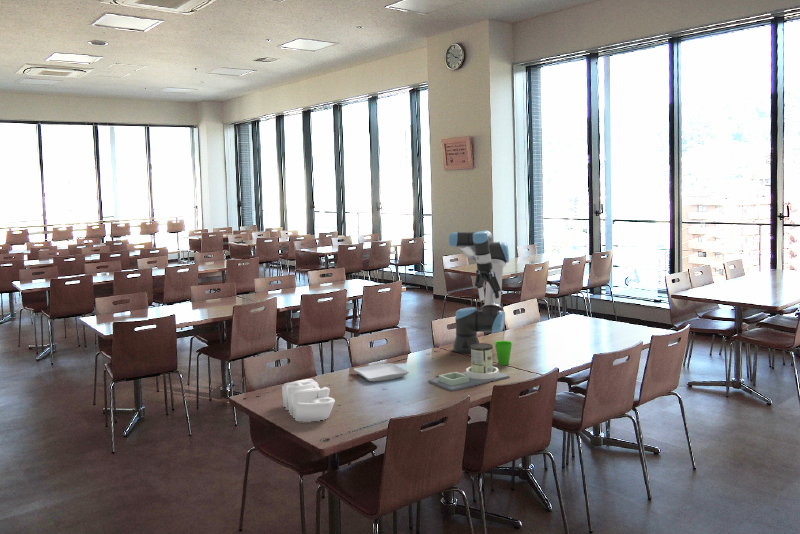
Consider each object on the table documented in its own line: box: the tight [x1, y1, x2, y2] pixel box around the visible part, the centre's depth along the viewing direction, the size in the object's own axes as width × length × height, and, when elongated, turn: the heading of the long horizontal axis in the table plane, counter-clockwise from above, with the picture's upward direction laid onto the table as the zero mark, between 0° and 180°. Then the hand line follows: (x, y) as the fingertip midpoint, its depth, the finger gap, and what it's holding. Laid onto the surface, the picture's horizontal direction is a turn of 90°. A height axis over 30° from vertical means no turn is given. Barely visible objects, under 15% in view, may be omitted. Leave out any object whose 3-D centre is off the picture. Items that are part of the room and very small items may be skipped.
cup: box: [494, 340, 513, 366], centre depth 340 cm, size 9×9×11 cm
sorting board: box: [428, 366, 510, 392], centre depth 315 cm, size 18×34×4 cm, turn 123°
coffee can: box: [470, 342, 494, 373], centre depth 319 cm, size 10×10×14 cm
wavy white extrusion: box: [281, 378, 336, 423], centre depth 277 cm, size 35×16×11 cm, turn 21°
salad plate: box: [353, 362, 410, 383], centre depth 326 cm, size 21×21×3 cm
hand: (489, 302), depth 345 cm, fingers open, 13 cm apart
